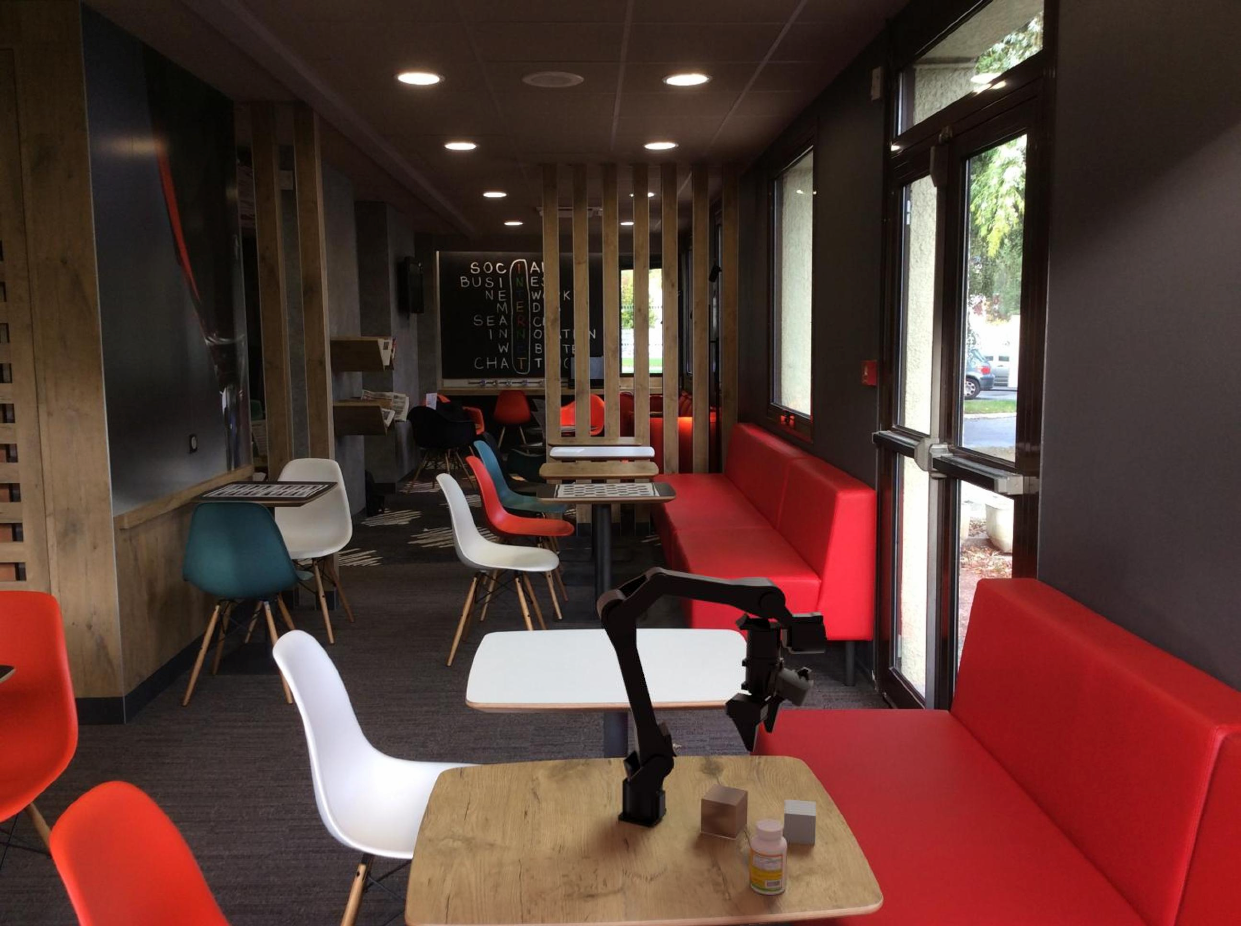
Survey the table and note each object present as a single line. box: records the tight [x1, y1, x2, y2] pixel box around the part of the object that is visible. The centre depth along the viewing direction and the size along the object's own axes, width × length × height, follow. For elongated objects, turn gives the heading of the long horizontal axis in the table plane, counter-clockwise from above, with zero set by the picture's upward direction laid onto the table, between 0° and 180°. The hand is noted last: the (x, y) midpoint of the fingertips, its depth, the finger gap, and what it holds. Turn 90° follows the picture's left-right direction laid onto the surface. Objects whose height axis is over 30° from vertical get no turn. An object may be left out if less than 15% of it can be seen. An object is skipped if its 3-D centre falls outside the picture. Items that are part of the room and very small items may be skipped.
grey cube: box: [783, 799, 817, 846], centre depth 170 cm, size 5×5×5 cm
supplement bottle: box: [749, 818, 788, 896], centre depth 155 cm, size 5×5×10 cm
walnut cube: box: [700, 783, 749, 841], centre depth 173 cm, size 6×6×6 cm
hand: (760, 741), depth 178 cm, fingers open, 9 cm apart
